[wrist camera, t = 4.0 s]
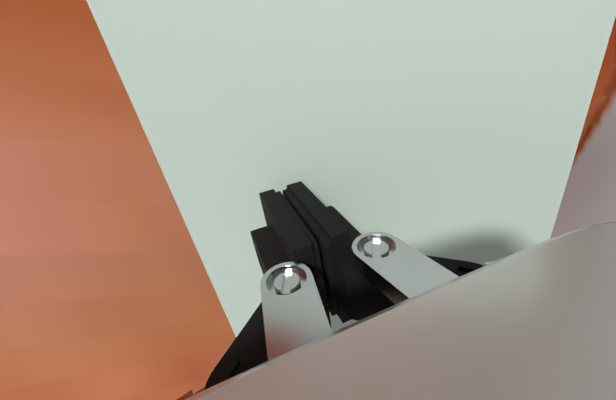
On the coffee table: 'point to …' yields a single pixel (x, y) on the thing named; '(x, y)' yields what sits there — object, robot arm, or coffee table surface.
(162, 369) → the coffee table surface
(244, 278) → the lid
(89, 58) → the coffee table surface
